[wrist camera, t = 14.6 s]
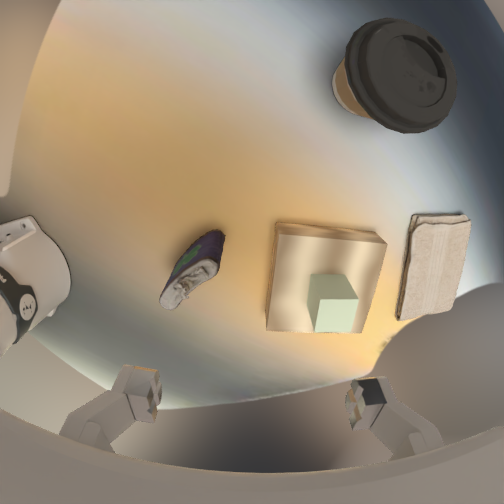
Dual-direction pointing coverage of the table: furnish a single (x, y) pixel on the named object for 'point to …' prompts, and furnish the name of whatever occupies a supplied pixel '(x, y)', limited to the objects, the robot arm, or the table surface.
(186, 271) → the dark blue flattened pouch
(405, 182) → the table surface
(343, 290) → the sage block
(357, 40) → the coffee cup
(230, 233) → the table surface
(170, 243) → the table surface
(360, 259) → the birch block
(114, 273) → the table surface
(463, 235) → the washcloth
